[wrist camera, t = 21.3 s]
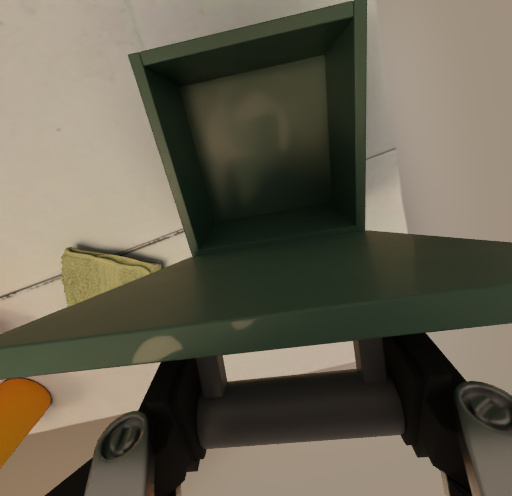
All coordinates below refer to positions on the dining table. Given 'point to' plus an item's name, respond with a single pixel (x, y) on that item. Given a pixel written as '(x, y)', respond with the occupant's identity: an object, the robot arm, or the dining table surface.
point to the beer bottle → (19, 412)
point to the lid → (280, 327)
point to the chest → (263, 128)
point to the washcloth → (98, 273)
